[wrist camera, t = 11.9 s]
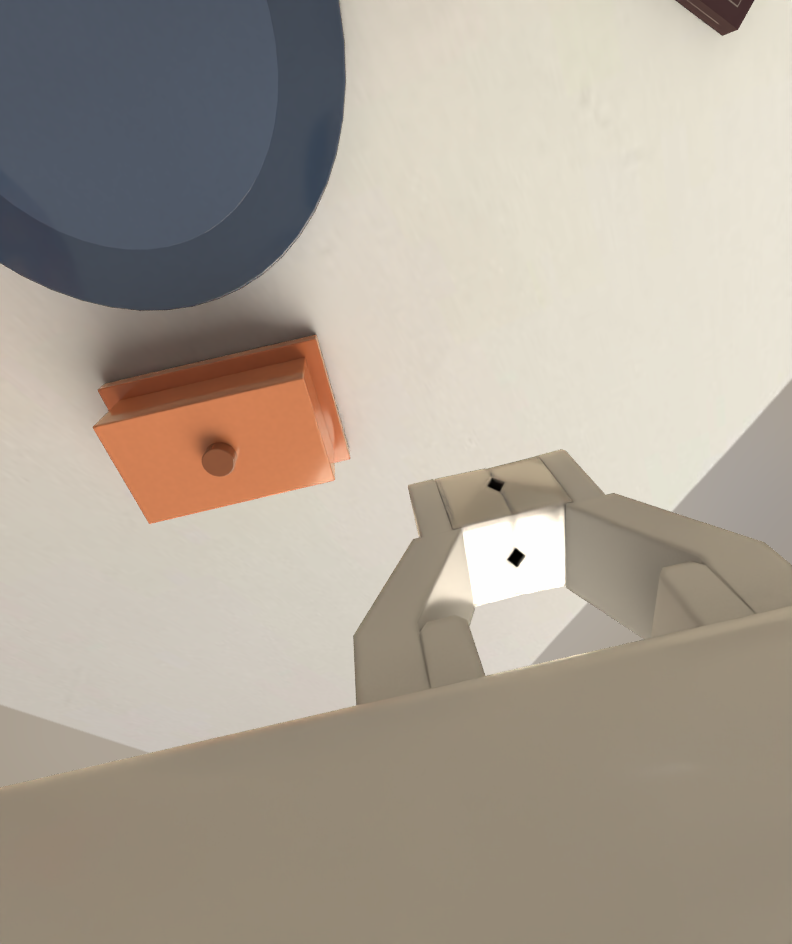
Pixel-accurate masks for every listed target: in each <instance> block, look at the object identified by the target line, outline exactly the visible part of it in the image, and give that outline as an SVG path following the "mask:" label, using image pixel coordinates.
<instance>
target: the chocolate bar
mask: <svg viewBox="0 0 792 944" xmlns="http://www.w3.org/2000/svg"><path fill="white" fill-rule="evenodd" d="M676 1H677V2H678V3H680V4H681V5H682V6H684V7H685V8H686V9H688V10H689V11H690V12H692V13H693V14H694V15H696V16H697V17H698V18H700V19H701V20H702V21H704V22H705V23H706V24H708V25H709V26H710V27H712V28H713V29H714V30H716V31H717V32H718V33H720V34H721V35H722V36H723V35H725V34H728V33H730V32H733V31H735V30H738V28H739V27H740V25H741V23H742V21H743V20H744V18H745V16H746V14H747V12H748V11H749V9H750V7H751V5H752V3H753V2H754V0H676Z"/></svg>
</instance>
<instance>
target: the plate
mask: <svg viewBox="0 0 792 944" xmlns="http://www.w3.org/2000/svg"><path fill="white" fill-rule="evenodd" d="M345 87H346V70H345V41H344V33H343V26H342V18H341V10H340V3H339V0H0V263H1V264H3V265H4V266H6V267H8V268H9V269H11V270H13V271H15V272H16V273H18V274H20V275H21V276H23V277H26V278H28V279H30V280H32V281H34V282H36V283H38V284H40V285H43V286H45V287H47V288H49V289H51V290H54V291H56V292H59V293H62V294H65V295H68V296H71V297H73V298H76V299H79V300H82V301H86V302H90V303H95V304H99V305H103V306H108V307H112V308H121V309H130V310H139V311H150V310H173V309H179V308H186V307H193V306H197V305H200V304H203V303H207V302H210V301H214V300H217V299H220V298H222V297H224V296H226V295H228V294H230V293H233V292H235V291H237V290H239V289H241V288H243V287H244V286H246V285H247V284H249V283H250V282H252V281H254V280H255V279H257V278H258V277H260V276H261V275H263V274H264V273H265V272H266V271H267V270H268V269H269V268H271V267H272V266H273V265H274V264H275V263H276V262H277V261H278V260H279V259H281V258H282V257H283V256H284V254H285V253H286V252H287V251H288V250H289V248H290V247H291V246H292V245H293V244H294V242H295V241H296V240H297V239H298V238H299V236H300V235H301V233H302V232H303V230H304V229H305V227H306V225H307V224H308V222H309V221H310V219H311V217H312V216H313V214H314V212H315V211H316V208H317V206H318V204H319V202H320V200H321V197H322V195H323V193H324V191H325V189H326V186H327V184H328V181H329V177H330V174H331V171H332V168H333V164H334V161H335V158H336V155H337V150H338V144H339V139H340V134H341V128H342V123H343V115H344V101H345Z"/></svg>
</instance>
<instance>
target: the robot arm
mask: <svg viewBox="0 0 792 944" xmlns="http://www.w3.org/2000/svg"><path fill="white" fill-rule="evenodd" d="M408 490H409V494H410V499H411V504H412V508H413V513H414V517H415V522H416V526H417V531H418V535H419V538H416V539H413V540H412V542H411V543H410V545H409V547H408V548H407V550H406V552H405V553H404V555H403V556H402V558H401V560H400V561H399V563H398V564H397V566H396V568H395V569H394V571H393V573H392V574H391V576H390V577H389V579H388V581H387V582H386V584H385V586H384V587H383V589H382V590H381V592H380V594H379V595H378V597H377V598H376V600H375V602H374V603H373V605H372V607H371V608H370V610H369V611H368V613H367V615H366V616H365V618H364V620H363V621H362V623H361V624H360V626H359V628H358V629H357V631H356V632H355V634H354V636H353V639H354V662H355V686H356V706H352V707H348V708H343V709H339V710H335V711H330V712H326V713H322V714H317V715H313V716H308V717H304V718H300V719H295V720H291V721H287V722H282V723H278V724H274V725H269V726H265V727H261V728H256V729H252V730H247V731H243V732H239V733H234V734H230V735H226V736H221V737H217V738H213V739H208V740H204V741H200V742H195V743H191V744H186V745H182V746H178V747H173V748H169V749H165V750H160V751H156V752H152V753H147V754H143V755H139V756H134V757H130V758H126V759H121V760H117V761H112V762H108V763H104V764H100V765H95V766H91V767H86V768H82V769H78V770H74V771H69V772H64V773H61V774H56V775H51V776H47V777H43V778H38V779H34V780H30V781H25V782H21V783H16V784H12V785H8V786H3V787H0V944H792V565H791V564H790V563H789V562H787V561H786V560H785V559H784V558H783V557H781V556H780V555H779V554H778V553H777V552H775V551H774V550H773V549H772V548H771V547H769V546H768V545H767V544H766V543H764V542H761V541H758V540H755V539H752V538H749V537H746V536H743V535H740V534H737V533H734V532H731V531H728V530H725V529H722V528H719V527H715V526H713V525H710V524H707V523H703V522H700V521H697V520H694V519H691V518H688V517H685V516H682V515H679V514H676V513H673V512H670V511H667V510H664V509H661V508H658V507H655V506H652V505H649V504H646V503H643V502H640V501H636V500H633V499H630V498H627V497H624V496H621V495H618V494H615V493H612V494H607V495H605V494H604V493H603V491H602V490H601V489H600V488H599V487H598V486H597V485H596V484H595V483H594V481H593V480H592V479H591V478H590V477H589V476H588V475H587V474H586V473H585V471H584V470H583V469H582V468H581V467H580V466H579V465H578V464H577V463H576V462H575V460H574V459H573V458H572V457H571V456H570V455H569V454H568V453H567V452H566V451H565V450H562V449H560V450H557V451H553V452H549V453H545V454H542V455H538V456H536V457H532V458H528V459H524V460H520V461H516V462H512V463H508V464H504V465H500V466H496V467H492V468H488V469H480V470H475V471H470V472H465V473H461V474H456V475H451V476H446V477H442V478H437V479H434V480H433V479H431V480H427V481H423V482H419V483H414V484H410V485H408ZM562 586H566V588H567V589H569V590H570V591H572V592H573V593H575V594H576V595H578V596H579V597H581V598H582V599H584V600H585V601H587V602H588V603H590V604H592V605H593V606H594V607H596V608H598V609H599V610H601V611H602V612H604V613H605V614H607V615H608V616H610V617H611V618H613V619H614V620H616V621H617V622H619V623H620V624H622V625H623V626H625V627H627V628H628V629H629V630H631V631H632V632H634V633H636V634H637V635H638V636H640V637H641V638H643V639H644V640H640V641H635V642H631V643H626V644H622V645H618V646H614V647H609V648H604V649H600V650H596V651H592V652H587V653H583V654H578V655H575V656H570V657H565V658H561V659H557V660H553V661H548V662H544V663H539V664H535V665H531V666H526V667H522V668H517V669H513V670H509V671H504V672H500V673H496V674H491V675H487V676H485V673H484V670H483V667H482V664H481V661H480V658H479V655H478V652H477V649H476V646H475V643H474V640H473V637H472V634H471V631H470V628H469V626H470V623H471V620H472V617H473V613H474V610H475V608H474V607H475V606H479V605H483V604H487V603H490V602H494V601H498V600H502V599H506V598H510V597H514V596H518V595H522V594H527V593H532V592H537V591H542V590H547V589H552V588H557V587H562Z"/></svg>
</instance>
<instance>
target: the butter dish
mask: <svg viewBox="0 0 792 944" xmlns="http://www.w3.org/2000/svg"><path fill="white" fill-rule="evenodd" d="M98 392H99V394H100V396H101V397H102V399H103V401H104V403H105V405H106V406H107V408H108V410H109V411H108V412H107V413H106V414H105V415H104V416H103V417H102V418H101V419H100V420H99V421H98V422H97V423H96V424H95V425H94V426H93V429H94V431H95V432H96V434H97V436H98V437H99V439H100V441H101V443H102V444H103V446H104V448H105V449H106V451H107V453H108V454H109V456H110V458H111V460H112V461H113V463H114V465H115V466H116V468H117V470H118V471H119V473H120V475H121V477H122V478H123V480H124V482H125V483H126V485H127V487H128V489H129V490H130V492H131V494H132V495H133V497H134V499H135V500H136V502H137V504H138V506H139V507H140V509H141V511H142V512H143V514H144V516H145V517H146V519H147V521H148V523H149V524H151V523H156V522H160V521H164V520H168V519H173V518H177V517H181V516H185V515H190V514H194V513H198V512H202V511H207V510H211V509H215V508H219V507H224V506H228V505H232V504H236V503H241V502H245V501H249V500H253V499H258V498H262V497H266V496H270V495H275V494H279V493H283V492H287V491H292V490H296V489H300V488H304V487H309V486H313V485H317V484H321V483H326V482H330V481H334V480H335V465H334V463H336V462H340V461H344V460H348V459H350V451H349V448H348V444H347V441H346V437H345V434H344V430H343V427H342V423H341V419H340V416H339V412H338V409H337V405H336V402H335V398H334V395H333V391H332V388H331V384H330V381H329V377H328V374H327V370H326V366H325V363H324V359H323V356H322V352H321V349H320V345H319V342H318V338H317V335H312V336H307V337H303V338H299V339H294V340H290V341H286V342H282V343H277V344H273V345H269V346H264V347H260V348H256V349H251V350H247V351H243V352H239V353H234V354H230V355H226V356H221V357H217V358H213V359H209V360H204V361H200V362H196V363H191V364H187V365H183V366H178V367H174V368H170V369H166V370H161V371H157V372H153V373H148V374H144V375H140V376H135V377H131V378H127V379H123V380H118V381H114V382H110V383H105V384H104V385H103V386H101V387H100V388H99V389H98Z"/></svg>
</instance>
